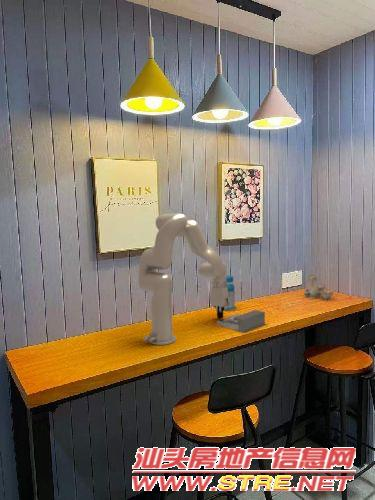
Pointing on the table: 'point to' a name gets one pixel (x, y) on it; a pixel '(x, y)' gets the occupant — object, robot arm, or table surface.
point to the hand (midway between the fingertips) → (220, 318)
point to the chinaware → (316, 289)
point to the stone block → (231, 319)
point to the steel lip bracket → (245, 321)
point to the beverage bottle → (230, 293)
